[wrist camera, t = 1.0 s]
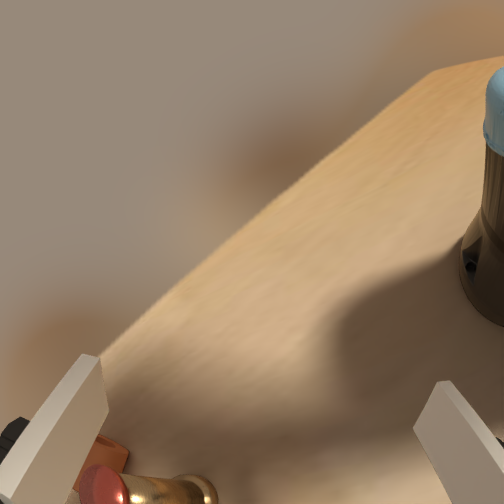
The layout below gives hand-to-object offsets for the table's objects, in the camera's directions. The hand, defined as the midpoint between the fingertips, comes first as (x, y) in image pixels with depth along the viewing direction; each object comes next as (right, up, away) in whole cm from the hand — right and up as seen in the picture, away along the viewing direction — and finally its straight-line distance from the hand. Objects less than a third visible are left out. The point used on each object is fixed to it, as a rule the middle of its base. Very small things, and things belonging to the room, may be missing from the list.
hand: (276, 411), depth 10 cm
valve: (-7, -22, +16) cm, 29 cm away
